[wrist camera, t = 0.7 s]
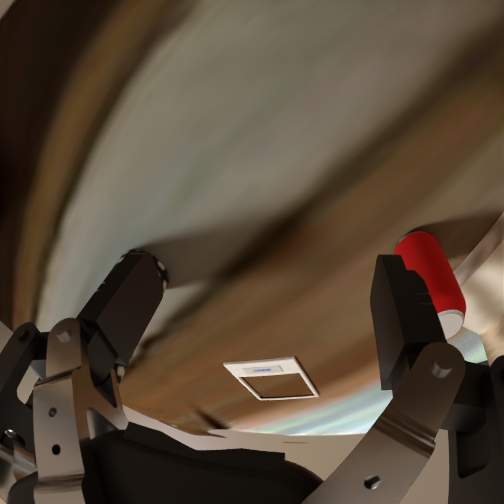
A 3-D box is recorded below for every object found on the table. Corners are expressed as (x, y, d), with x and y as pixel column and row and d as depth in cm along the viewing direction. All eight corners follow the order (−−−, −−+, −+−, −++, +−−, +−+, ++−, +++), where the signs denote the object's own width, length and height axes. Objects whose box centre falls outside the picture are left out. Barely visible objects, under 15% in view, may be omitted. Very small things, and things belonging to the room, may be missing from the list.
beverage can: (433, 220, 27) (473, 297, 18) (438, 259, 30) (468, 336, 21) (386, 236, 30) (410, 319, 20) (396, 273, 33) (414, 354, 23)
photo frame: (293, 359, 47) (318, 397, 56) (294, 354, 48) (318, 393, 57) (222, 365, 53) (259, 400, 62) (224, 360, 54) (260, 396, 63)
